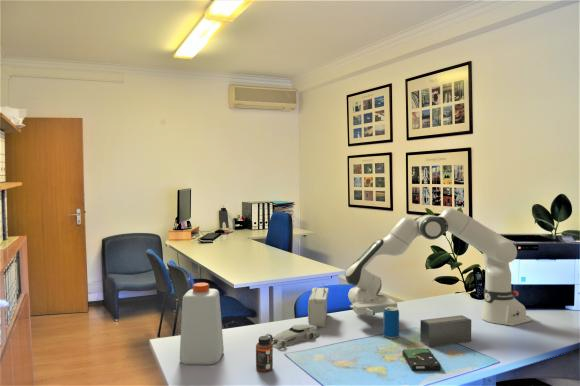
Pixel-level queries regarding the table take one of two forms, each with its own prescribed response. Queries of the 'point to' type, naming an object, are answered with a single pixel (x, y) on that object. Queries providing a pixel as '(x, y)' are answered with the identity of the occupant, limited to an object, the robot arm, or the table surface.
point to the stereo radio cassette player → (317, 307)
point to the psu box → (445, 331)
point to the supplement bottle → (264, 354)
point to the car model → (293, 335)
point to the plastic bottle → (201, 326)
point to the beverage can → (391, 322)
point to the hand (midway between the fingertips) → (383, 312)
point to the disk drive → (421, 360)
